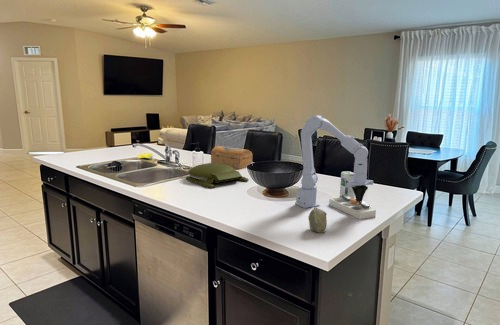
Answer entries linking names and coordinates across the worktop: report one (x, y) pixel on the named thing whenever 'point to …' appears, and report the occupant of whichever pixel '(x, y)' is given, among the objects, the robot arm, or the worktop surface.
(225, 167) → the folded olive dish cloth
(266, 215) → the worktop surface
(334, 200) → the white tray
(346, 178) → the syrup box
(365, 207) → the rocker
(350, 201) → the rocker
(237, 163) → the wooden box
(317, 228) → the mottled olive rock
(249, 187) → the worktop surface
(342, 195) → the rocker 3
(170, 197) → the worktop surface
